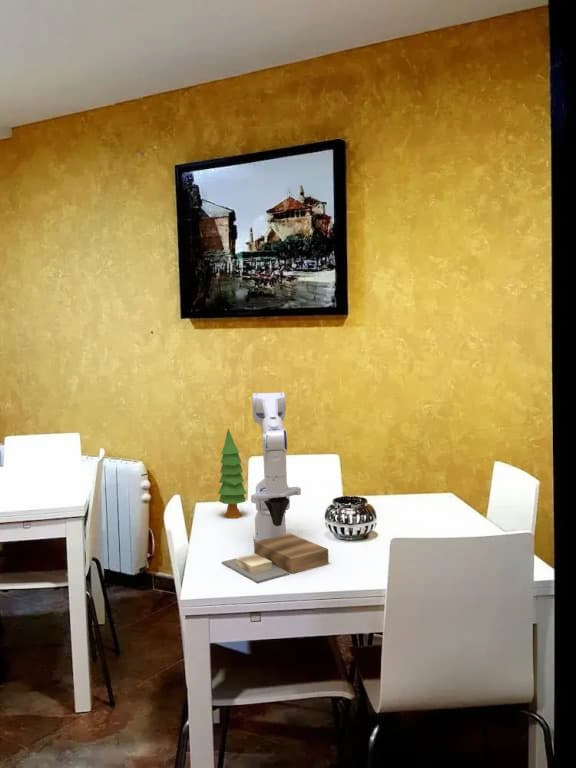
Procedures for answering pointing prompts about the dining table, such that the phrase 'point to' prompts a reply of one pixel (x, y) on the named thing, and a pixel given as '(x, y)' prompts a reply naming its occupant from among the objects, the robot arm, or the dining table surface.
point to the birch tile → (254, 563)
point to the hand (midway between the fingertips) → (277, 525)
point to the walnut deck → (291, 553)
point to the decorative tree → (231, 478)
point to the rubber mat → (259, 576)
